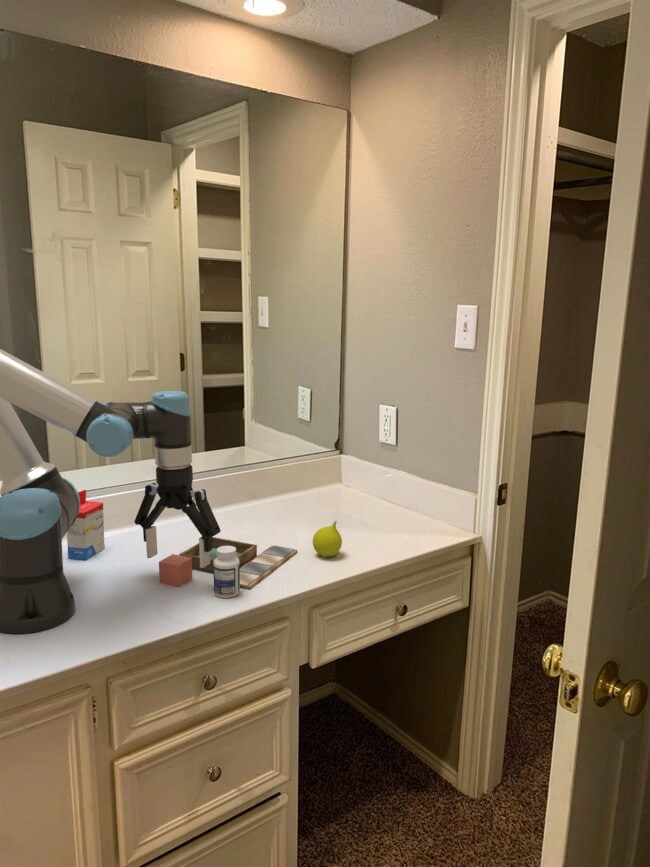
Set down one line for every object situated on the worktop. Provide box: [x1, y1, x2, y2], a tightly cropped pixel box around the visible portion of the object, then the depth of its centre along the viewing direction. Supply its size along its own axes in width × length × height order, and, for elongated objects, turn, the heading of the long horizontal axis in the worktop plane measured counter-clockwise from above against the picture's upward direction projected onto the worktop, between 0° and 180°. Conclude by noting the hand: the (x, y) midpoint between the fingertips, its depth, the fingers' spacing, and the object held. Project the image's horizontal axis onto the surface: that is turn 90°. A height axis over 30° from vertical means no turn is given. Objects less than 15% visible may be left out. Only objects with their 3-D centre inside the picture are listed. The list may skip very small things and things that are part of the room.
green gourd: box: [312, 520, 343, 558], centre depth 158 cm, size 7×7×10 cm
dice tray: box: [178, 536, 258, 574], centre depth 153 cm, size 13×13×3 cm
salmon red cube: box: [158, 553, 193, 588], centre depth 142 cm, size 5×5×5 cm
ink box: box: [66, 489, 106, 561], centre depth 155 cm, size 8×5×15 cm, turn 168°
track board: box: [240, 545, 298, 590], centre depth 151 cm, size 24×7×1 cm, turn 157°
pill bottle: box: [212, 546, 241, 599], centre depth 136 cm, size 5×5×10 cm
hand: (178, 560), depth 141 cm, fingers open, 13 cm apart
